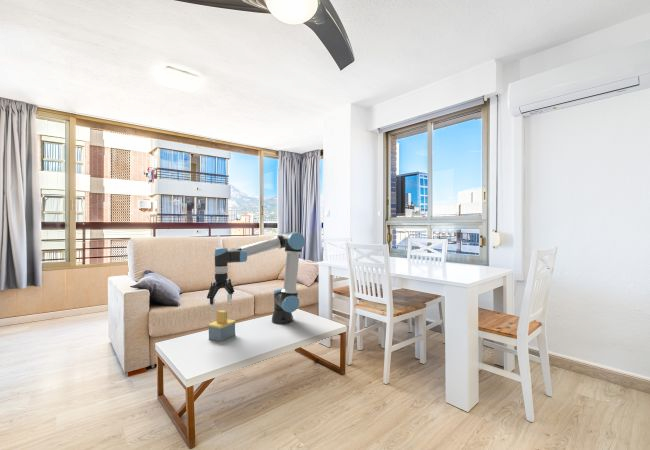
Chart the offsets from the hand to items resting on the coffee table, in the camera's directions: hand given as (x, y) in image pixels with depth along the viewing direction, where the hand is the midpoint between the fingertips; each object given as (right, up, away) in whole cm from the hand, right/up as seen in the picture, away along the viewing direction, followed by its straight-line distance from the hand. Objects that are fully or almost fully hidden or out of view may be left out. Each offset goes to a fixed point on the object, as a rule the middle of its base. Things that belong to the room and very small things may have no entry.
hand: (221, 306), depth 192 cm
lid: (0, -11, 0) cm, 11 cm away
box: (0, -19, 0) cm, 19 cm away
